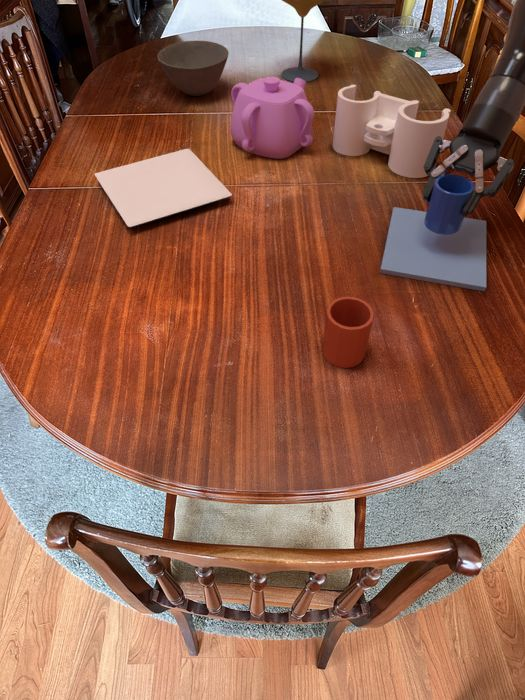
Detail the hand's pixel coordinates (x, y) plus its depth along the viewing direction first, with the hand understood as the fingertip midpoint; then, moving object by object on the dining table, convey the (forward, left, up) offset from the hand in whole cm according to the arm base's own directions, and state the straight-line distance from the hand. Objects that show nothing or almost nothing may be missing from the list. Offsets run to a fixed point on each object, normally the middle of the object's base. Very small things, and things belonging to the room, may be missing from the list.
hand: (444, 207), depth 87 cm
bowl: (+67, -54, -10) cm, 87 cm away
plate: (+56, -5, -10) cm, 58 cm away
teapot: (+39, -34, -10) cm, 53 cm away
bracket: (+13, -32, -10) cm, 36 cm away
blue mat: (-1, -1, -10) cm, 10 cm away
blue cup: (-1, -2, -4) cm, 5 cm away
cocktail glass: (+42, -73, -10) cm, 85 cm away
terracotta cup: (+11, +29, -10) cm, 32 cm away
